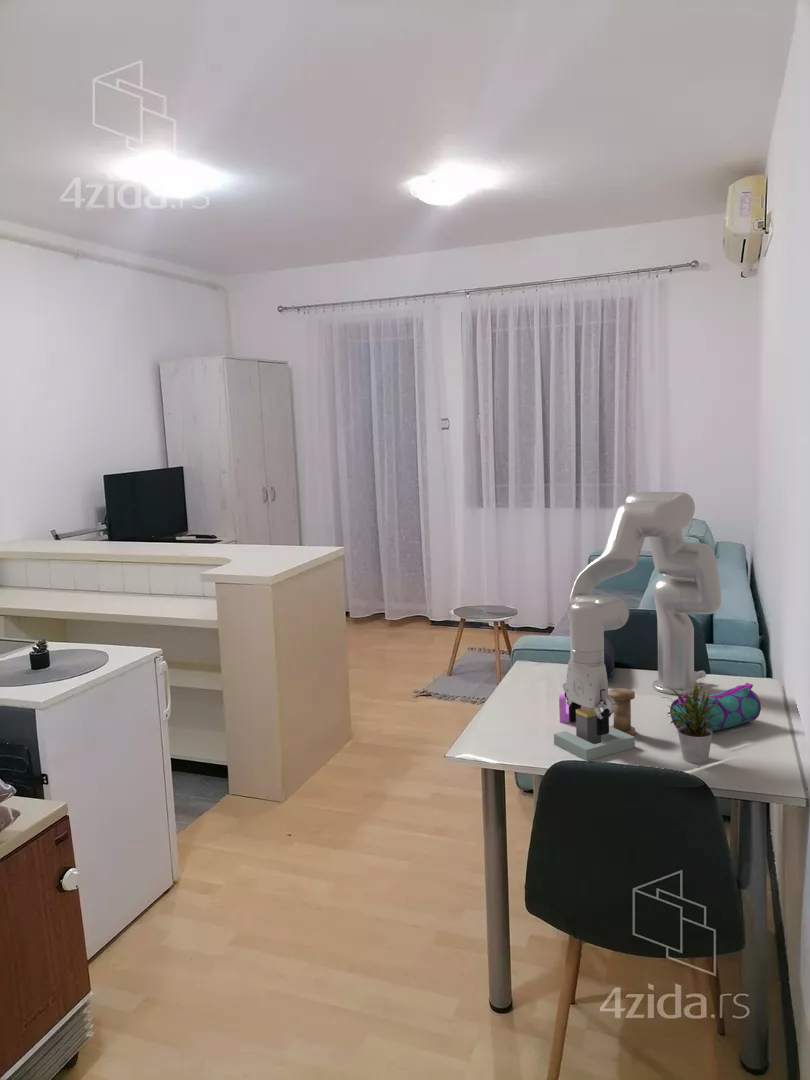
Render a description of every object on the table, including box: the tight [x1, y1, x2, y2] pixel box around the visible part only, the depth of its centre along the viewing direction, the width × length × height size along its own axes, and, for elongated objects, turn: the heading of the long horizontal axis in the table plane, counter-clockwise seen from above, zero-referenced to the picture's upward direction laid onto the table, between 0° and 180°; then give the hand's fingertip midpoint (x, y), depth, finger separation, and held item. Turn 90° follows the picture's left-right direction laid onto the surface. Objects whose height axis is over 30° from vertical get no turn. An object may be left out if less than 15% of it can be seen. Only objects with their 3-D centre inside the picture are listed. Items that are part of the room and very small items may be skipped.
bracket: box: [558, 693, 584, 724], centre depth 197 cm, size 13×6×7 cm, turn 165°
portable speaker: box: [604, 637, 615, 681], centre depth 231 cm, size 25×10×10 cm, turn 165°
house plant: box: [662, 681, 724, 765], centre depth 167 cm, size 14×14×16 cm
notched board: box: [553, 725, 636, 761], centre depth 176 cm, size 14×12×2 cm
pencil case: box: [669, 682, 762, 732], centre depth 183 cm, size 21×9×10 cm, turn 113°
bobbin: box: [608, 688, 636, 737], centre depth 183 cm, size 6×6×10 cm
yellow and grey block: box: [575, 707, 602, 744], centre depth 177 cm, size 4×4×8 cm
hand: (588, 727), depth 177 cm, fingers open, 9 cm apart
